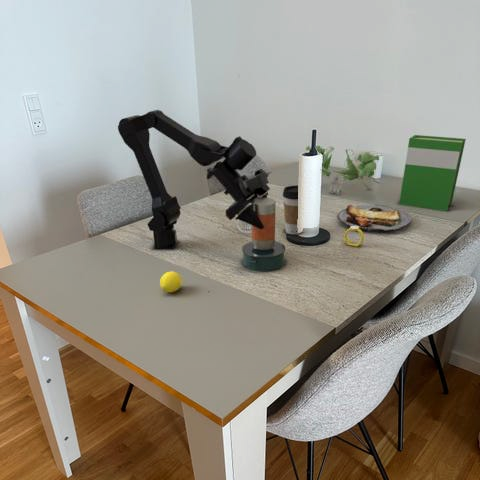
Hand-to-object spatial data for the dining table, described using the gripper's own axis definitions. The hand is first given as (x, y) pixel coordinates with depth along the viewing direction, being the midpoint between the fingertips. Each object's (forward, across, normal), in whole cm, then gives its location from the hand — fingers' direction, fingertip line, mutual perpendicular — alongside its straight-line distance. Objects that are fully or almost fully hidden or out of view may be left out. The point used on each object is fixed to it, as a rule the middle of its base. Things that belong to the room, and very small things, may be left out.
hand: (267, 224), depth 131 cm
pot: (+8, 0, +9) cm, 12 cm away
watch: (+23, +22, -6) cm, 32 cm away
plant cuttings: (+10, +78, +8) cm, 79 cm away
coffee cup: (+8, +27, +9) cm, 29 cm away
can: (+4, 0, +6) cm, 7 cm away
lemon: (-3, -26, +20) cm, 33 cm away
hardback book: (+34, +72, -17) cm, 81 cm away
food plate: (+24, +46, -7) cm, 52 cm away
